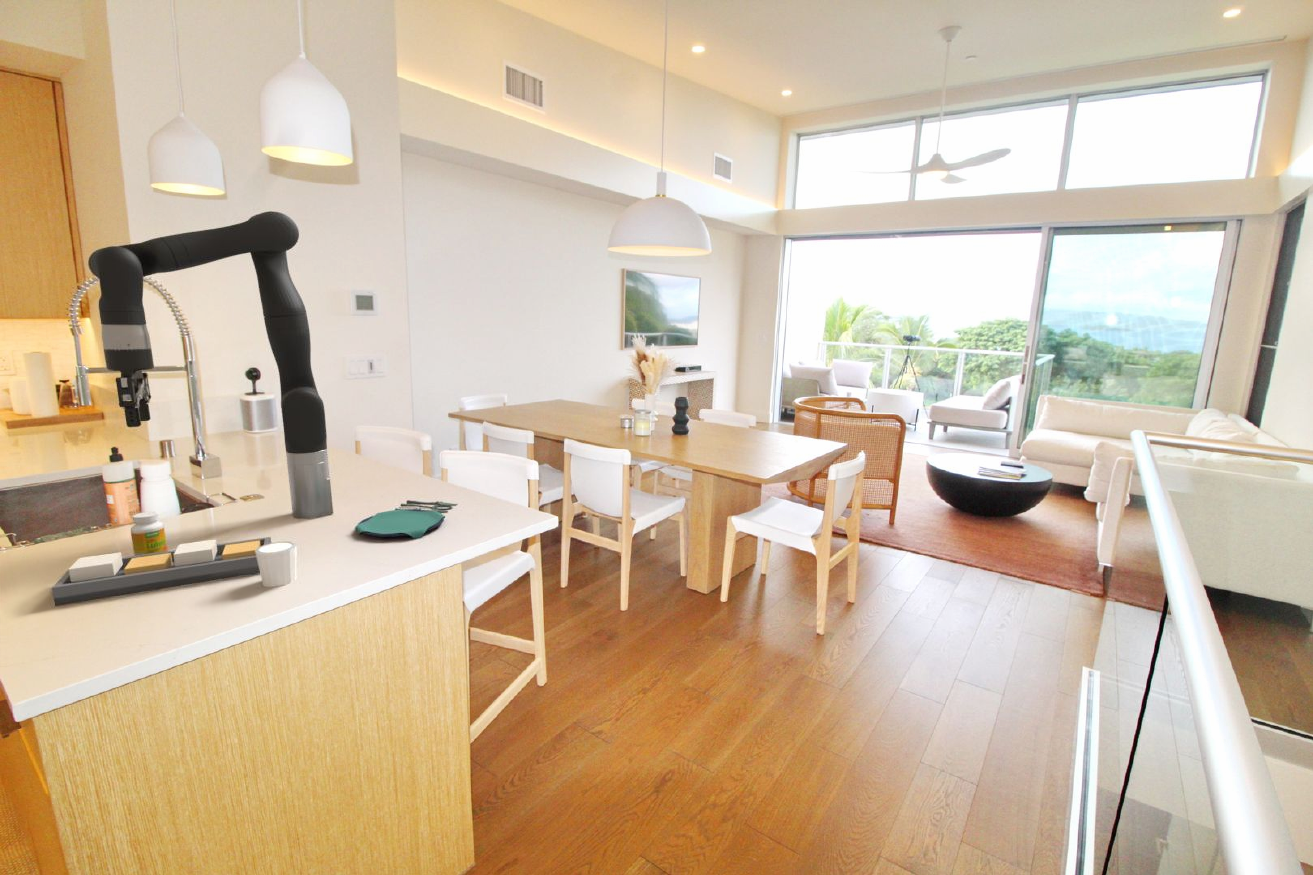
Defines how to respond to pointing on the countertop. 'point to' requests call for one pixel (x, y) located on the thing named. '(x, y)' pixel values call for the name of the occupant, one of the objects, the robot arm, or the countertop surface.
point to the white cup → (277, 563)
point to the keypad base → (155, 577)
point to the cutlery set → (404, 520)
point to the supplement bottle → (148, 534)
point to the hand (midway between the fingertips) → (139, 423)
